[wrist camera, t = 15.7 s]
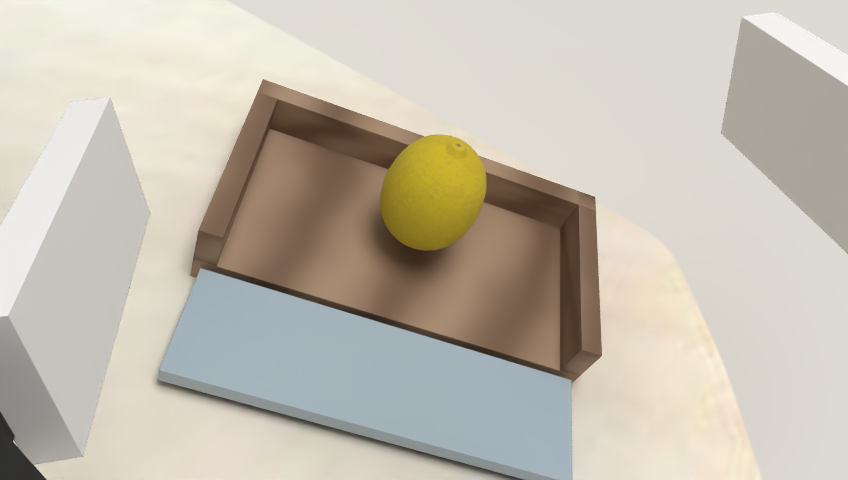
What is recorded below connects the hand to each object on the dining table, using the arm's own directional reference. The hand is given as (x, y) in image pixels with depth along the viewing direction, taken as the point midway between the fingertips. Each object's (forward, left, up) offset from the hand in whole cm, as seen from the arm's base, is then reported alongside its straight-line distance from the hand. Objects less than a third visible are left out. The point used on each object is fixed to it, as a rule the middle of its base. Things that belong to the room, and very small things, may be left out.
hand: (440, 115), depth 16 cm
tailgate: (+5, +10, -23) cm, 25 cm away
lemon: (+5, +16, -23) cm, 28 cm away
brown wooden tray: (+5, +16, -24) cm, 29 cm away
